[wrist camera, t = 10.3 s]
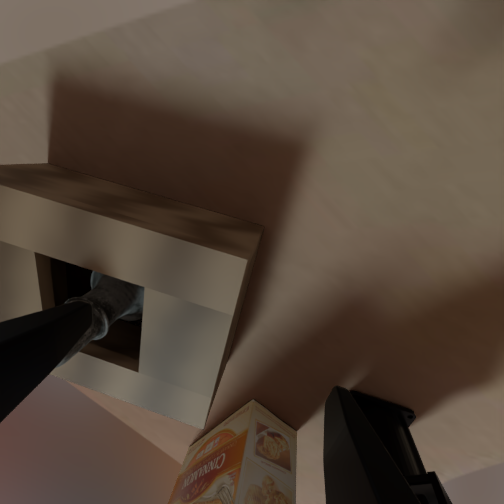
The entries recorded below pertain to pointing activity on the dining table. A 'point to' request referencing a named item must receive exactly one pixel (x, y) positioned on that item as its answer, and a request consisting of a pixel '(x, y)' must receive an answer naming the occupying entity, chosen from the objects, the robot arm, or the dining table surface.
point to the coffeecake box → (241, 462)
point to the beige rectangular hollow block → (134, 271)
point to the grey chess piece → (108, 307)
